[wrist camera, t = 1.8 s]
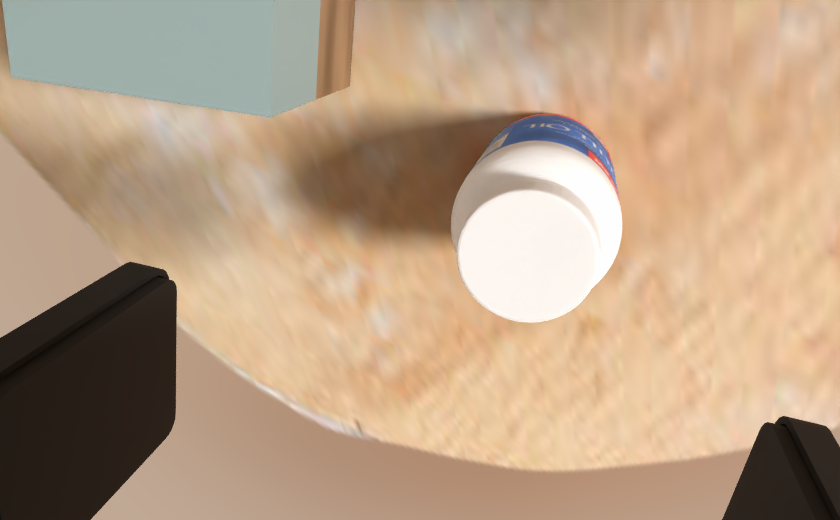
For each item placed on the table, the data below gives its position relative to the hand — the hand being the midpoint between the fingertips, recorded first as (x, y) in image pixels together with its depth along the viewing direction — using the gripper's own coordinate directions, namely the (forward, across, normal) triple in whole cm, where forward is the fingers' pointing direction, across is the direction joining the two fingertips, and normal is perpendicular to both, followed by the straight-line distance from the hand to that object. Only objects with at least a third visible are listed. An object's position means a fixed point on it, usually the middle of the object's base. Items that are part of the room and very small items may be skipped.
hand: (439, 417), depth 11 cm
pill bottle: (+19, -1, +1) cm, 19 cm away
